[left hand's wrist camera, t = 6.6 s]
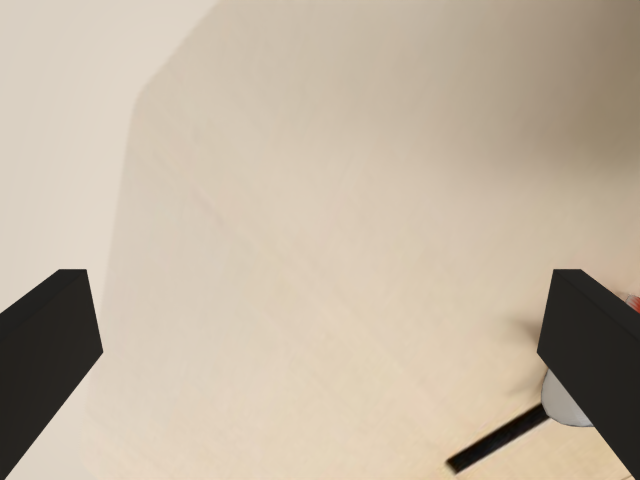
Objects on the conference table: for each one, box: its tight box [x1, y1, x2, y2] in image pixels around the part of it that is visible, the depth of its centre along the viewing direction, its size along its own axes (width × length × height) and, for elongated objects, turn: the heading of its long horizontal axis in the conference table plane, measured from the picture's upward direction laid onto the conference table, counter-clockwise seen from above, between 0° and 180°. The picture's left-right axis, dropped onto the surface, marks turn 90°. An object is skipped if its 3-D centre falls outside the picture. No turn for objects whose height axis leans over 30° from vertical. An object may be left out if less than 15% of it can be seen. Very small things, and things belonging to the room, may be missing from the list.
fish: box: [541, 295, 640, 427], centre depth 40 cm, size 11×16×10 cm
